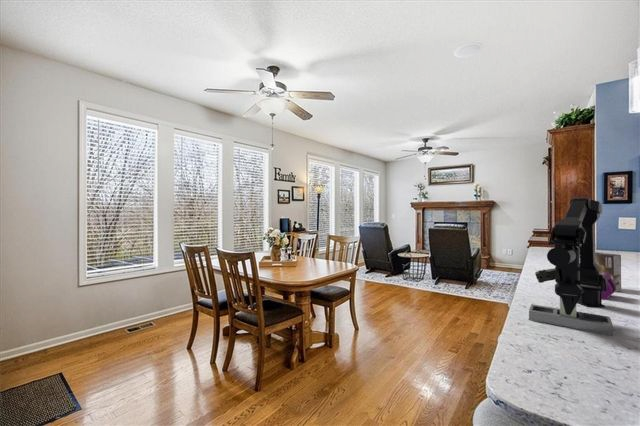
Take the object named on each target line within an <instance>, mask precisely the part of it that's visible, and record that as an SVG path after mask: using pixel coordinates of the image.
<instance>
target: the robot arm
mask: <svg viewBox="0 0 640 426" xmlns="http://www.w3.org/2000/svg"><path fill="white" fill-rule="evenodd" d="M568 204H569V205H568V209H567V211H566V213H565V215H564V217H563V218H562V219H560V220H558V221H557V222H556V223H555V224H554V226H553V227H552V228H551V232H550V237H549V241H548V245H551V246H554V247H553V248H551V249H550V250H548V251H547V254H546V258H547V261H548V262H549V263H550V264H551V265H552V266H554V267H555V268H547V269H542V270H538V271H536V272H535V273H534V275H535V277H536V279H537V281H538V283H540V284H541V283H544V282H548V281H549V282H550V281H554V282H556V283H555V284H554V293H555V295H557V296H558V297H559V298H560V297H561V298H562V301H563V305H564V309H565V313H566V314H567V315H571V313H572V311H573V309H574V308H575V306H576V307H577V304H581V305H583V306H585V307H587V308H588V307H592V308H593V307H594V308H595V307H598V308H599V307H601V308H603V307H606V305H605V304H602V300H603V299H602V291H607V283H606V279H605V278H604V275H602V270H601V268H600V267H599V266H598V265H597V263H596V261H595V253H596V235H595V234H596V233H595V229H596V228H595V224H596V223H597V222H598V220H599V219H600V218H601V214H602V213H603V205H602V202H600V201H599V200H594V199H591V198H589V197H574V198H570V201H569V203H568ZM599 286H601V287H599Z"/></svg>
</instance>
